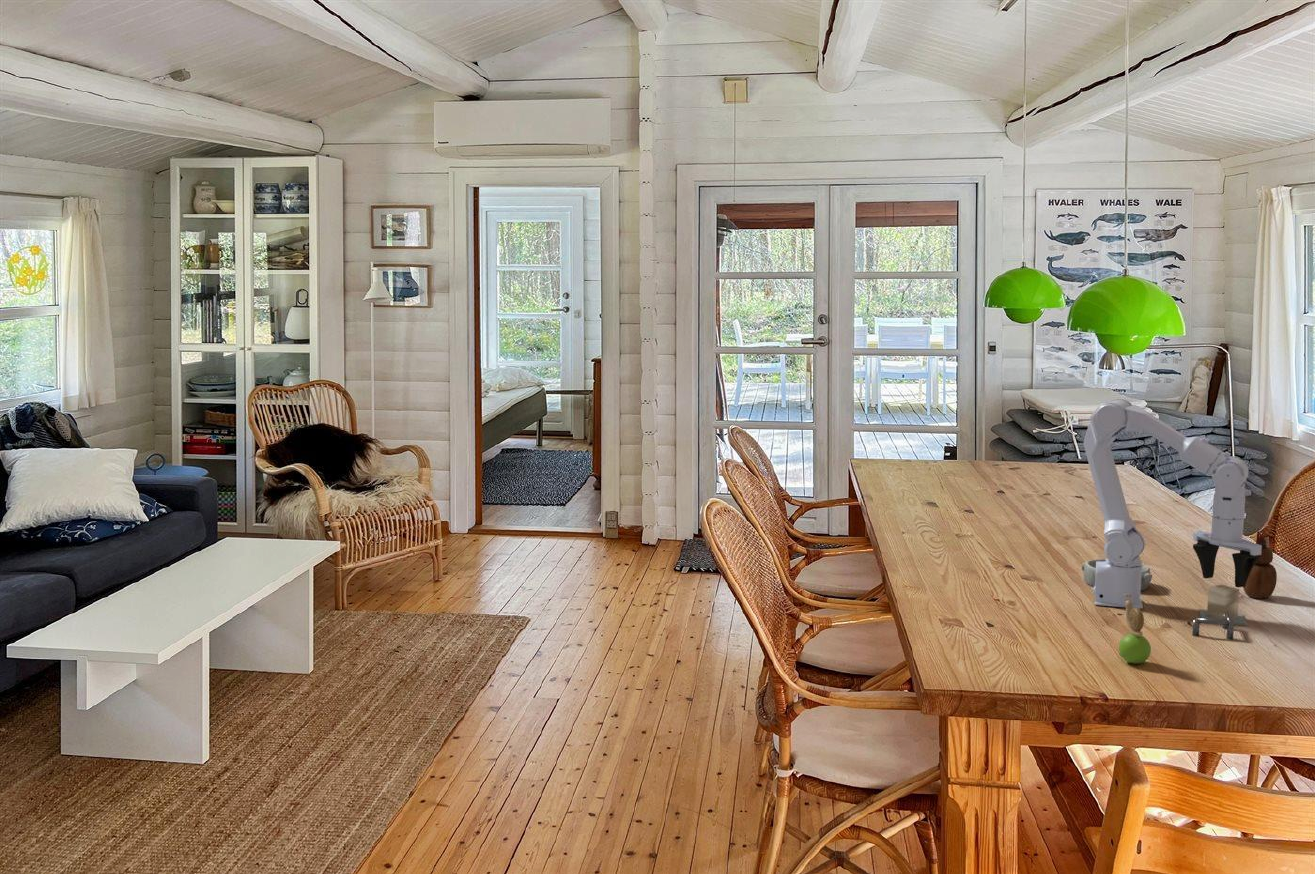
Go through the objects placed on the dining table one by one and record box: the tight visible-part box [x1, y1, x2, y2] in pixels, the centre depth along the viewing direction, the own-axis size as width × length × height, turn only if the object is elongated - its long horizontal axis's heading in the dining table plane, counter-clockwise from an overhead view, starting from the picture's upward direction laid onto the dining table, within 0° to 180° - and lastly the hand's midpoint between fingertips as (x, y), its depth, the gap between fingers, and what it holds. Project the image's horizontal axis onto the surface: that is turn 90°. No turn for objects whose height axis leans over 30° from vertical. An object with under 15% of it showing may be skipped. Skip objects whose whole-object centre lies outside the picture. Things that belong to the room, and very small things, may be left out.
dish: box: [1081, 558, 1153, 591], centre depth 255 cm, size 14×14×5 cm
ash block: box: [1206, 584, 1240, 620], centre depth 228 cm, size 4×4×6 cm
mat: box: [1198, 608, 1247, 627], centre depth 228 cm, size 8×8×1 cm
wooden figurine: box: [1242, 530, 1278, 600], centre depth 242 cm, size 7×6×15 cm
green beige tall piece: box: [1118, 594, 1152, 665], centre depth 202 cm, size 5×6×12 cm
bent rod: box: [1191, 611, 1235, 640], centre depth 219 cm, size 7×8×4 cm
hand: (1223, 582), depth 227 cm, fingers open, 7 cm apart
